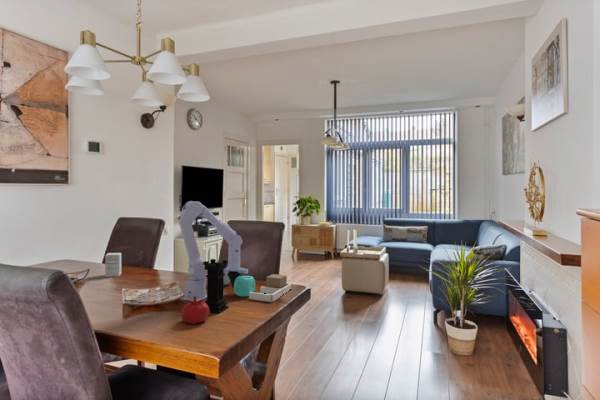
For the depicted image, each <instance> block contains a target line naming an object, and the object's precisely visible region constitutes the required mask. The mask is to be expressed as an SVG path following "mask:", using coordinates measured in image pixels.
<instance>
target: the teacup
mask: <svg viewBox="0 0 600 400" xmlns="http://www.w3.org/2000/svg"><path fill="white" fill-rule="evenodd" d="M228 273H229V272H227V271H224V274H225V276H224V286H228V284H229V283H231V281H230V279H229V277H228V275H227V274H228Z"/></svg>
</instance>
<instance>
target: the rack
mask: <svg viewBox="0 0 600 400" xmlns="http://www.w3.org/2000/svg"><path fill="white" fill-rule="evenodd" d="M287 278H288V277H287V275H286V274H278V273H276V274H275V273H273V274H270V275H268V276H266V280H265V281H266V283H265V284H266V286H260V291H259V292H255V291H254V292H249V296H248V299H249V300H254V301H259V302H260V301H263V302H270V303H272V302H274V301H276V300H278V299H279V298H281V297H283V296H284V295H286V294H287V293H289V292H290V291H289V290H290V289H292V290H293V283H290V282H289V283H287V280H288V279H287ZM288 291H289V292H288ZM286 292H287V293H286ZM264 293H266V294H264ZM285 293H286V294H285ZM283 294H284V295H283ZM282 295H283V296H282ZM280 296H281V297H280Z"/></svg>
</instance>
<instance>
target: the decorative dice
mask: <svg viewBox="0 0 600 400" xmlns="http://www.w3.org/2000/svg"><path fill="white" fill-rule="evenodd" d="M233 291H234V294H235V295H236V296H238V297H243V298H244V297H249V292H255V291H256V279H255V278H254V277H253V276H252V275H240V276H239V277H237V278H236V279H235V282H234V288H233Z"/></svg>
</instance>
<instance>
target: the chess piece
mask: <svg viewBox="0 0 600 400" xmlns="http://www.w3.org/2000/svg"><path fill="white" fill-rule="evenodd" d="M216 261H217V260H216V258H210V261H206V260H205V261H203V265H204V266H205V270H207V275H206V295H207V298H206V300H203V301H204V302H205V303H207V305H208V306H209V309H210V313H209V314H222V312H224V311H226V310H228V309H229V305H228V302H227V298H224V288H225V287H224V286H225V285H224V276H225V274H224V269H225V268H226V267H227V265H228V259H222V261H217V262H216Z"/></svg>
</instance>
